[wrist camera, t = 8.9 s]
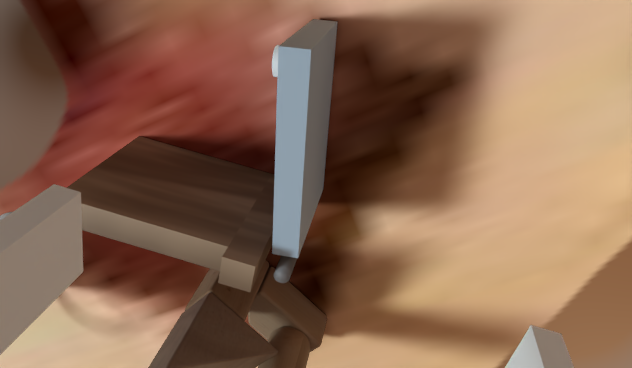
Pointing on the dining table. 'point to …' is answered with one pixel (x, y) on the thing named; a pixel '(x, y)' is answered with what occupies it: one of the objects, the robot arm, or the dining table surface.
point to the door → (301, 130)
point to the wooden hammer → (244, 327)
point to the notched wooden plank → (185, 209)
